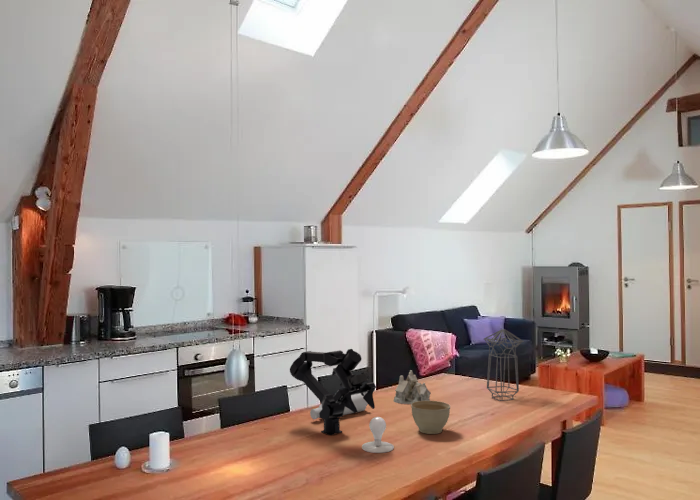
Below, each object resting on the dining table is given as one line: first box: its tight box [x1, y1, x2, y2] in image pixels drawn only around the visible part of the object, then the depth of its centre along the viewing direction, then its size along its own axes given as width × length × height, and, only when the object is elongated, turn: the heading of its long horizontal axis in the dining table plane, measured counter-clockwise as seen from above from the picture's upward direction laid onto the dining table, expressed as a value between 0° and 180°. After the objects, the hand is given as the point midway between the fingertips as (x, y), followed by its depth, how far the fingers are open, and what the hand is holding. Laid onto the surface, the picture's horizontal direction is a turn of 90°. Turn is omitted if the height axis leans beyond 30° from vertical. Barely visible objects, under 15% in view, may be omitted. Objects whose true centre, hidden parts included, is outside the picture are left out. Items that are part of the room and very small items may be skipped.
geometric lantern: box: [483, 328, 525, 402], centre depth 305 cm, size 16×16×35 cm
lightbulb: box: [368, 416, 387, 446], centre depth 229 cm, size 6×6×11 cm
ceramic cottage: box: [393, 369, 432, 405], centre depth 300 cm, size 16×16×15 cm
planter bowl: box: [410, 400, 451, 435], centre depth 250 cm, size 16×16×11 cm
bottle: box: [309, 393, 369, 420], centre depth 274 cm, size 9×9×30 cm
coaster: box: [361, 440, 394, 454], centre depth 229 cm, size 12×12×1 cm
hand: (365, 410), depth 234 cm, fingers open, 9 cm apart
